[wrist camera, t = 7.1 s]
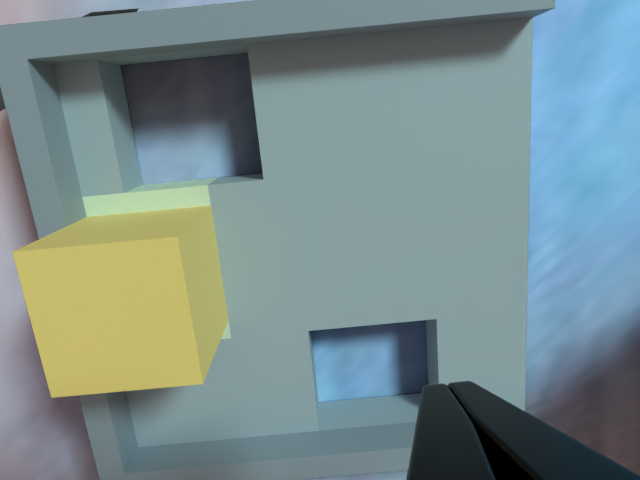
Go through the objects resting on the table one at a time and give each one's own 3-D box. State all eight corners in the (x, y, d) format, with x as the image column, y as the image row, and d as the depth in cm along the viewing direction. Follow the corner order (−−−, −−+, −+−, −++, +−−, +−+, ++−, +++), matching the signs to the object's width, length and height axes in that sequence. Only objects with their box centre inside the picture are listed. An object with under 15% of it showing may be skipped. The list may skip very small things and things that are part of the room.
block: (210, 205, 17) (177, 236, 13) (228, 320, 19) (202, 383, 14) (86, 216, 17) (12, 251, 13) (112, 330, 19) (51, 397, 14)
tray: (509, -3, 18) (556, -29, 14) (505, 404, 22) (541, 457, 19) (47, 42, 18) (-15, 26, 14) (135, 438, 22) (104, 497, 19)
